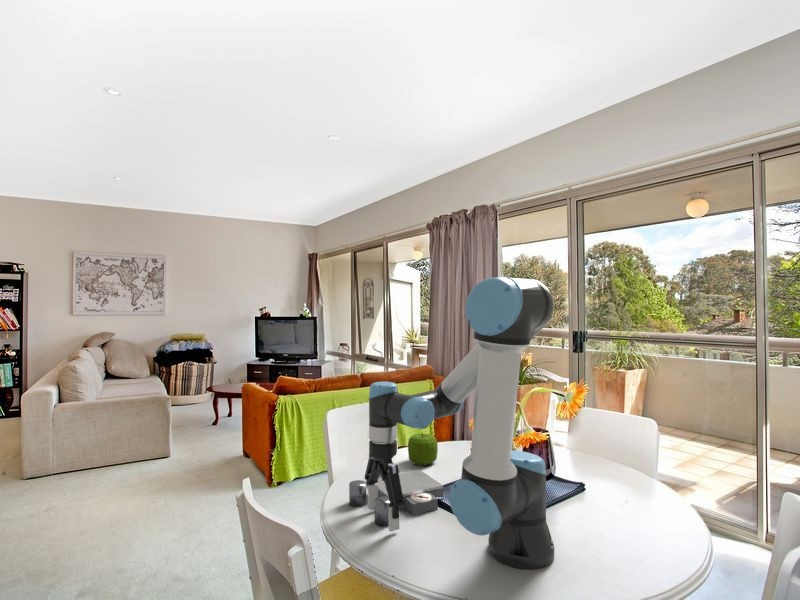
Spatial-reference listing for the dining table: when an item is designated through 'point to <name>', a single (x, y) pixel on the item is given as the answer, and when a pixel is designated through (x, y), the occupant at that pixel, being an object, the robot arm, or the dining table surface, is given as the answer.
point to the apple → (422, 449)
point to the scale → (420, 501)
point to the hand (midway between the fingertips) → (383, 518)
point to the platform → (412, 483)
